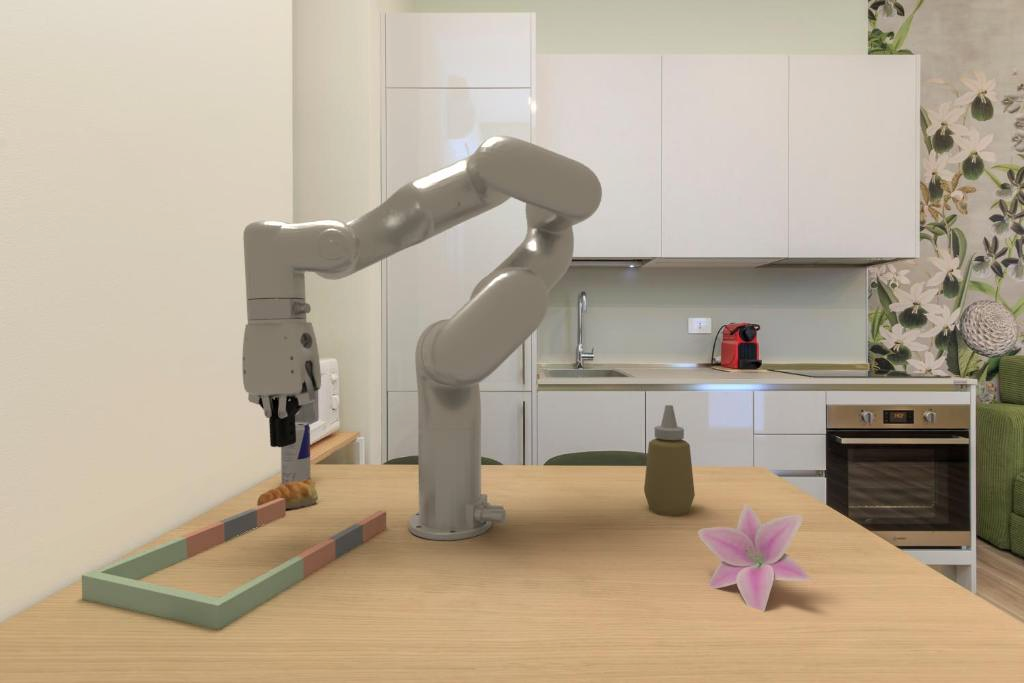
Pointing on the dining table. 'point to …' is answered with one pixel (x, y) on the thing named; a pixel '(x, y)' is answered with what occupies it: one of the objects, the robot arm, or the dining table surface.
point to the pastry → (292, 494)
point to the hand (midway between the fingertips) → (283, 444)
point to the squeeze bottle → (669, 469)
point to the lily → (754, 555)
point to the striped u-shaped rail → (122, 576)
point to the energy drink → (297, 456)
